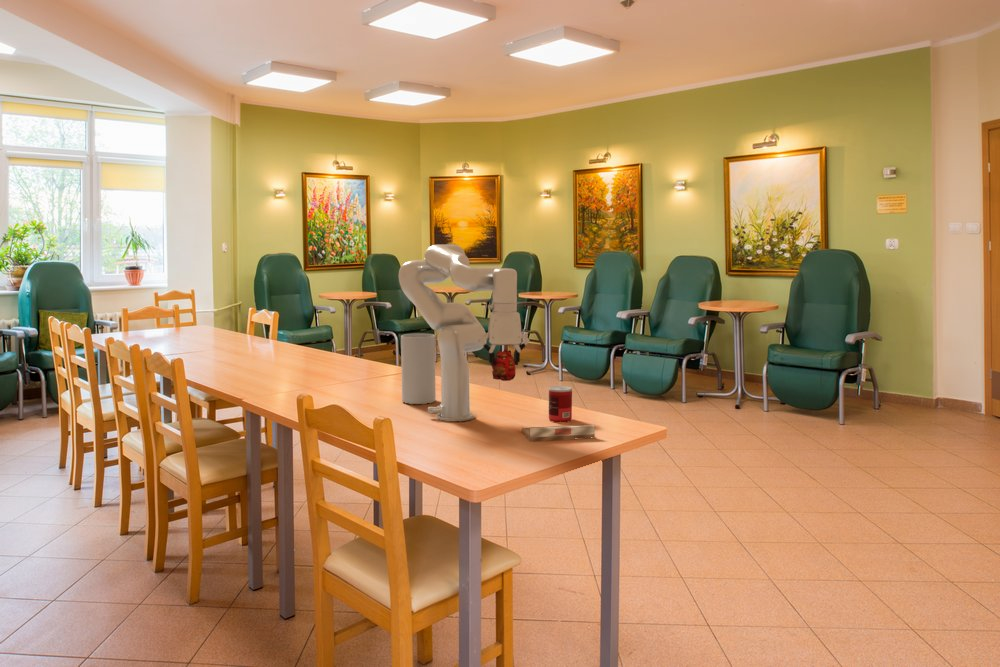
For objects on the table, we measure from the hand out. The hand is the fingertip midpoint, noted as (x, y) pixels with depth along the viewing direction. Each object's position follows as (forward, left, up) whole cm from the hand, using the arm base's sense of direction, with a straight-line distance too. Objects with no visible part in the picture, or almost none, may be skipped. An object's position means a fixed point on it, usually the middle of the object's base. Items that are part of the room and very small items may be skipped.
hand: (504, 364), depth 235 cm
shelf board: (+15, -9, -21) cm, 27 cm away
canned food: (+21, +10, -21) cm, 32 cm away
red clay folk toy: (0, 0, -5) cm, 5 cm away
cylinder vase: (-23, +49, -21) cm, 58 cm away
